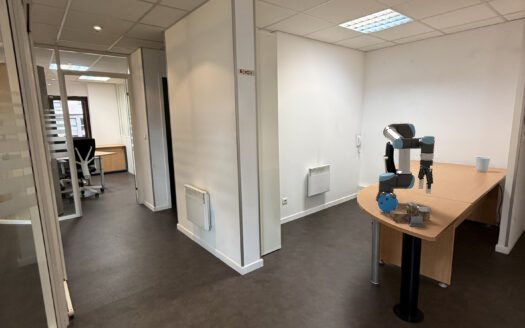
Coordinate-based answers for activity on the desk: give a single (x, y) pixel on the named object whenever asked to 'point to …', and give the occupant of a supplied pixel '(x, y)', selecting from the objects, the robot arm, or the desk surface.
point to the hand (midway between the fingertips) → (424, 191)
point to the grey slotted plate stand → (415, 221)
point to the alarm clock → (387, 202)
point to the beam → (403, 216)
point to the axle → (423, 210)
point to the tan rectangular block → (407, 209)
